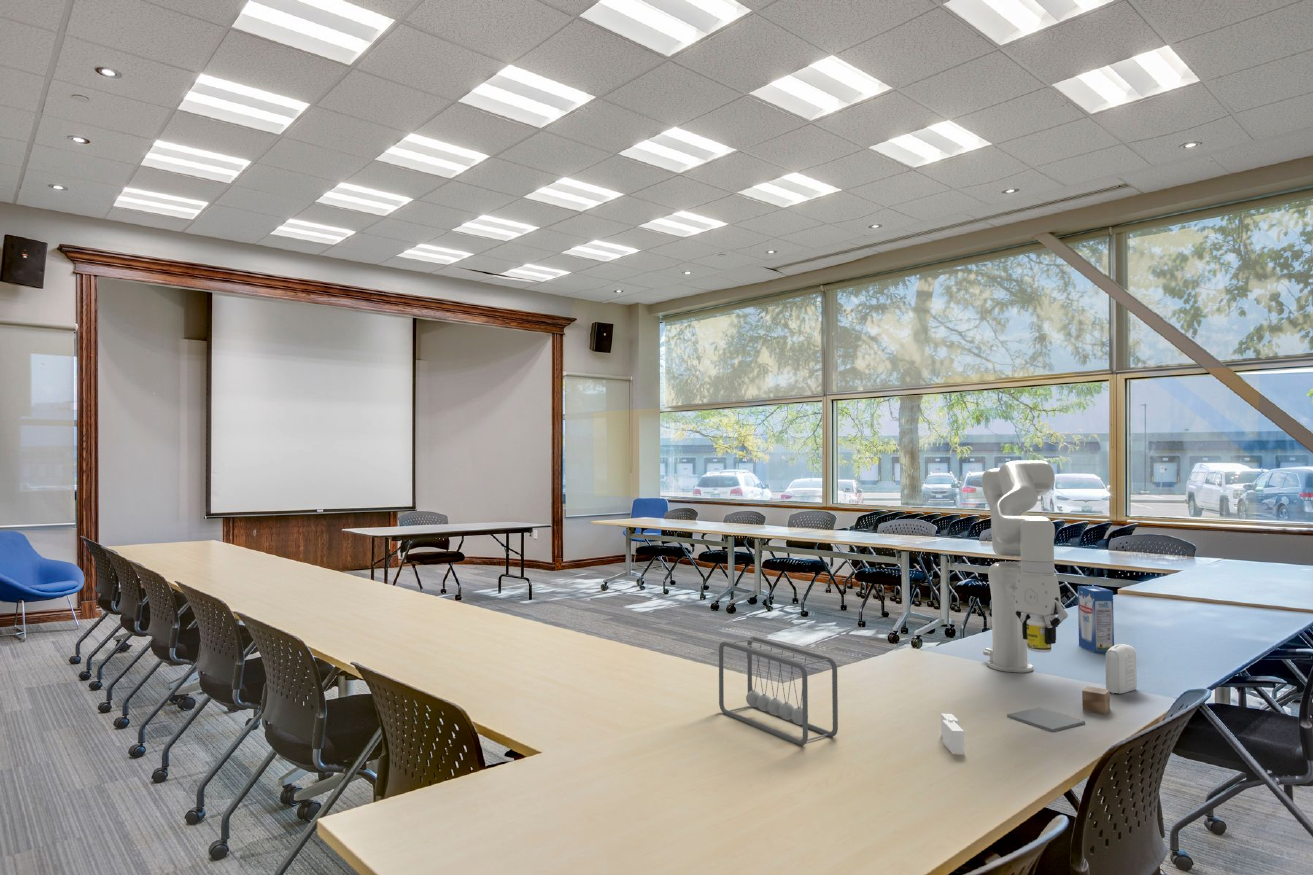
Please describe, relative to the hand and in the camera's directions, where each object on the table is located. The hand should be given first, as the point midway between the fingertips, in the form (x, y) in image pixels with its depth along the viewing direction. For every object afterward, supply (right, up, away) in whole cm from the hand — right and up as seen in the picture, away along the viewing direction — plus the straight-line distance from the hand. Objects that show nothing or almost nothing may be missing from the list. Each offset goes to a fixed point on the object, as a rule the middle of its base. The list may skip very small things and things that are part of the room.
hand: (1039, 640), depth 193 cm
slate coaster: (-2, -17, -7) cm, 19 cm away
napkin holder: (-30, -17, -23) cm, 41 cm away
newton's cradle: (-67, -17, -10) cm, 70 cm away
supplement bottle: (0, -3, 0) cm, 3 cm away
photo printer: (+31, -18, +17) cm, 39 cm away
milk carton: (+50, -20, +63) cm, 83 cm away
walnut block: (+14, -17, 0) cm, 23 cm away
